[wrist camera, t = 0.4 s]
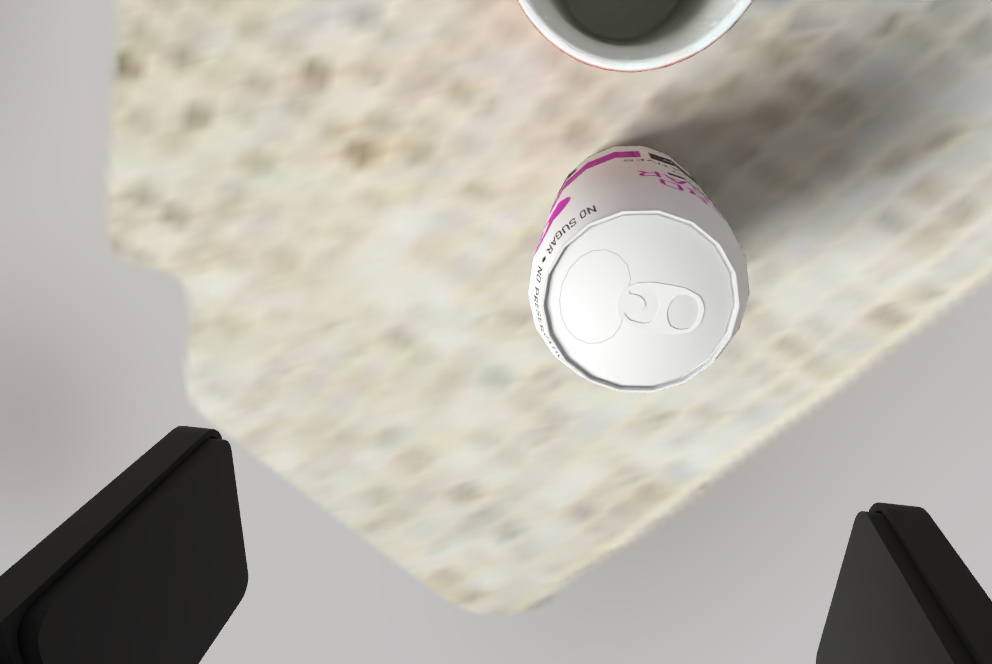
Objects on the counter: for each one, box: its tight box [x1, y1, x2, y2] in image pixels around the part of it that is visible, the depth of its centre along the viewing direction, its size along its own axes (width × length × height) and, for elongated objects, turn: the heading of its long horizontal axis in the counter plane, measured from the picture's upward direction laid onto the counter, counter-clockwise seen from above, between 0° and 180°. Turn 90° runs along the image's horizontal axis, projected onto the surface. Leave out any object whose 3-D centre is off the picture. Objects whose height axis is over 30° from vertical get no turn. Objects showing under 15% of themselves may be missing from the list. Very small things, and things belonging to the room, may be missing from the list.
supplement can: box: [528, 146, 749, 393], centre depth 31 cm, size 8×8×15 cm
